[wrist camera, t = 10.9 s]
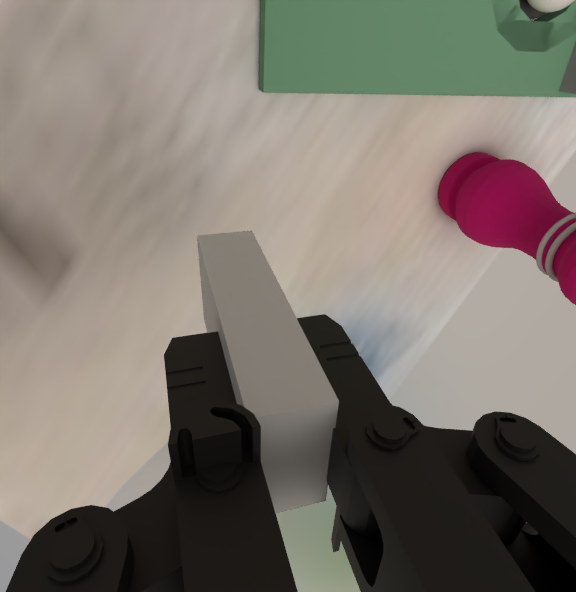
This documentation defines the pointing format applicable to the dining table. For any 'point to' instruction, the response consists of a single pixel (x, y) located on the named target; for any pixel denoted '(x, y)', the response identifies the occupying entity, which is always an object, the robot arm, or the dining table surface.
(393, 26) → the putting mat
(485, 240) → the pepper mill
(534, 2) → the ball
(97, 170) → the dining table surface
